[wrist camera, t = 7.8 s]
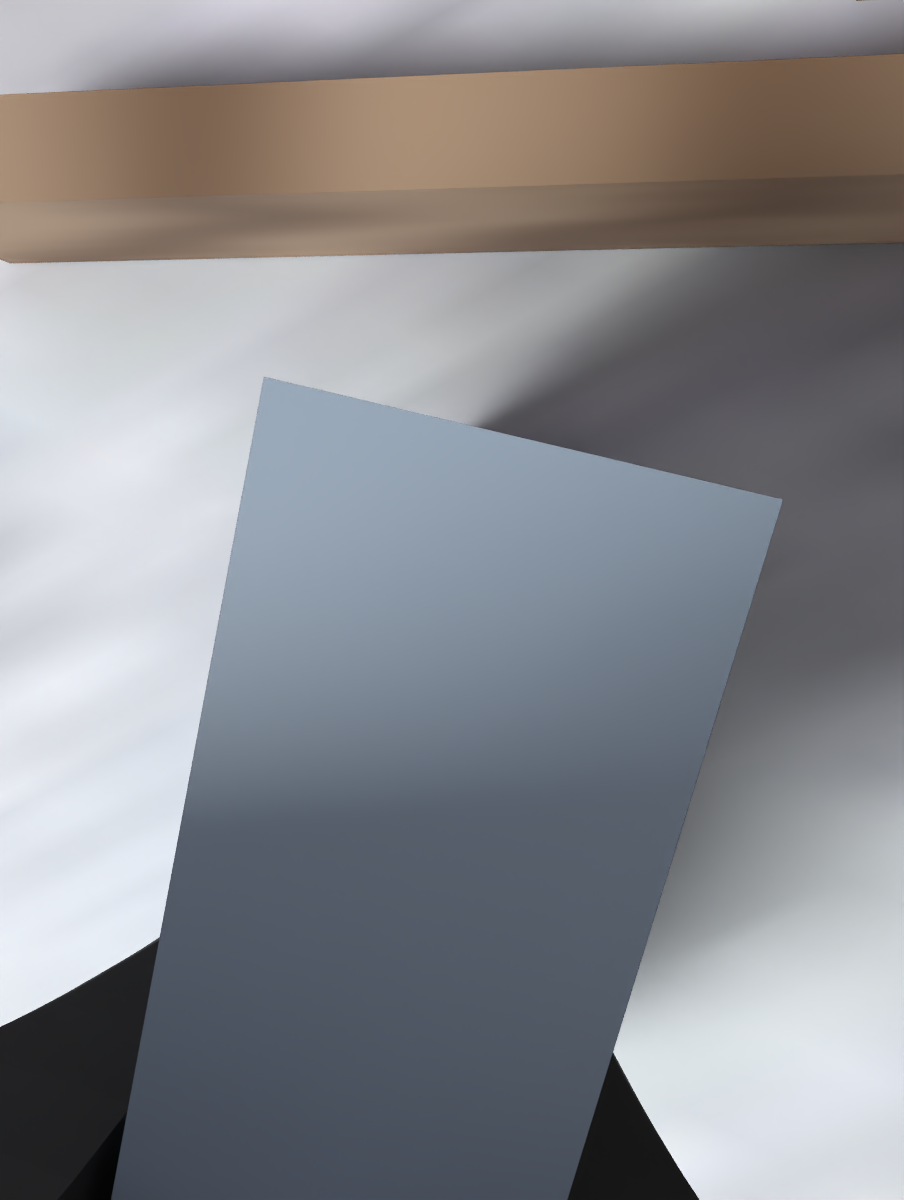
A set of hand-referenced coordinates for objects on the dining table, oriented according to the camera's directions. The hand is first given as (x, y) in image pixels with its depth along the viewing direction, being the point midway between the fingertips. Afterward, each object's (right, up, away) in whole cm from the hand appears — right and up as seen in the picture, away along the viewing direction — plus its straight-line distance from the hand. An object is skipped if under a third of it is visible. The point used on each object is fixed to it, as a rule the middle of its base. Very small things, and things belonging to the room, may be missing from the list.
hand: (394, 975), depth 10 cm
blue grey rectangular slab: (0, +1, +4) cm, 4 cm away
